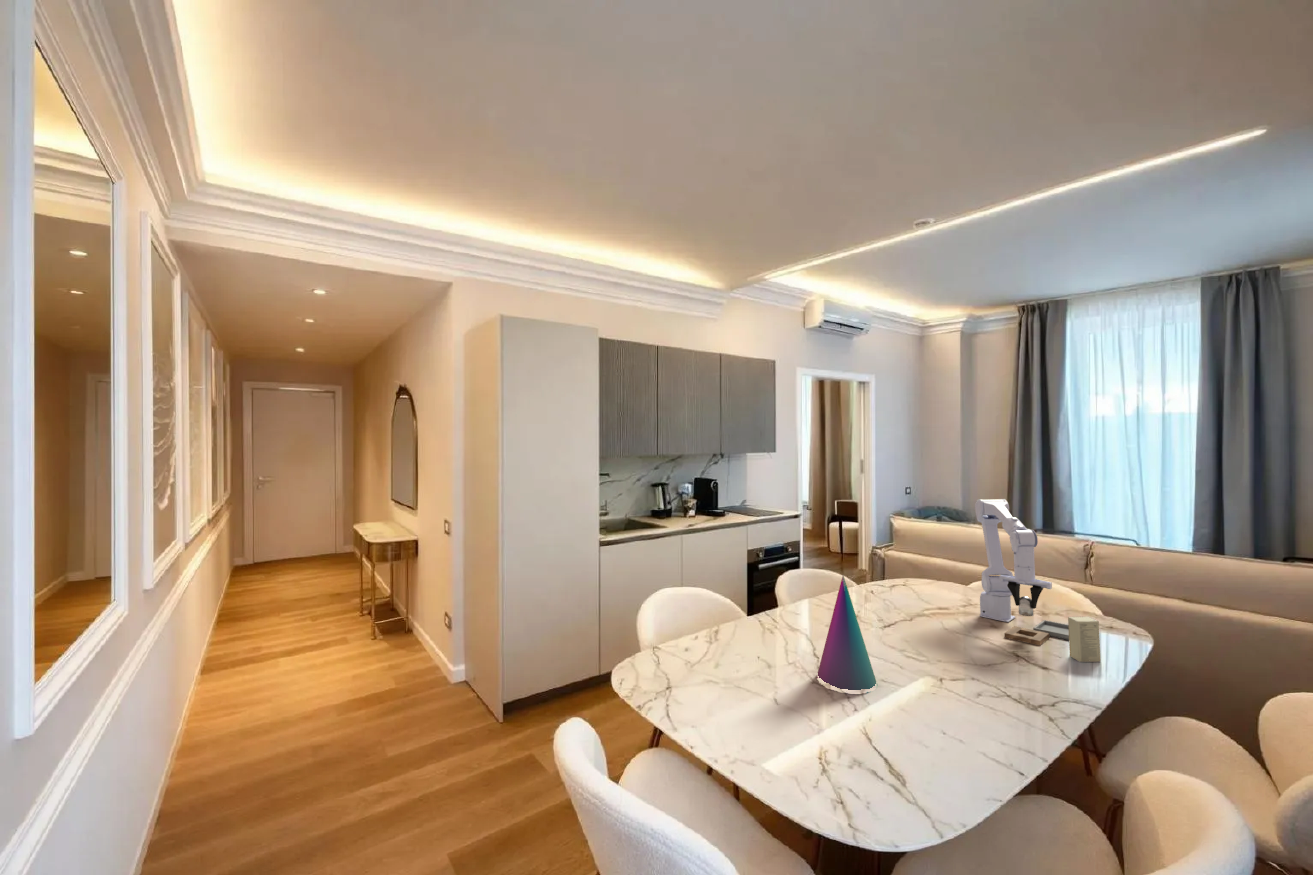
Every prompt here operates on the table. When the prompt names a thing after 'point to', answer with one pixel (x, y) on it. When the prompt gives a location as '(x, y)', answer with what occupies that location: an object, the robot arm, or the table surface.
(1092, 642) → the skincare box
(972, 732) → the table surface
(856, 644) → the decorative cone
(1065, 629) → the tray
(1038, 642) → the socket block
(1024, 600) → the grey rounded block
